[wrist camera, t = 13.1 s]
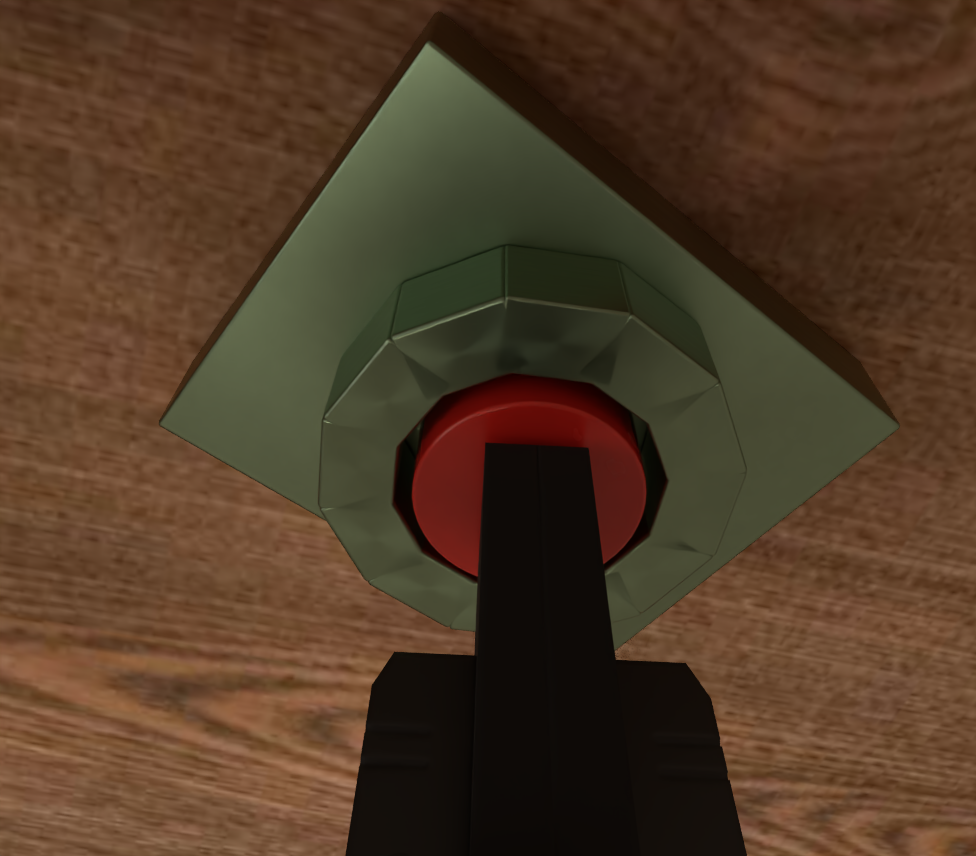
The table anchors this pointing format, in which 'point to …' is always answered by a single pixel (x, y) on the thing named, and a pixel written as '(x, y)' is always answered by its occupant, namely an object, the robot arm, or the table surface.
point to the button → (533, 421)
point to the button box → (516, 338)
